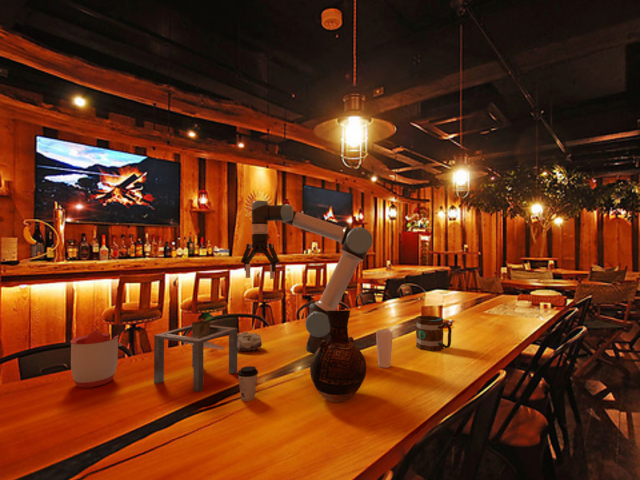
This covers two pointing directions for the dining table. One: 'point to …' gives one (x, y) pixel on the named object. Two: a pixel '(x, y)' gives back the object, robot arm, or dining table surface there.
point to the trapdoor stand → (193, 352)
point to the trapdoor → (206, 344)
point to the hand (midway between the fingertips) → (259, 278)
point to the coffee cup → (247, 382)
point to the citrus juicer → (94, 358)
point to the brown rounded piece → (201, 329)
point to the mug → (431, 333)
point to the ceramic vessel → (338, 361)
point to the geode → (248, 341)
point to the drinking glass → (384, 347)
